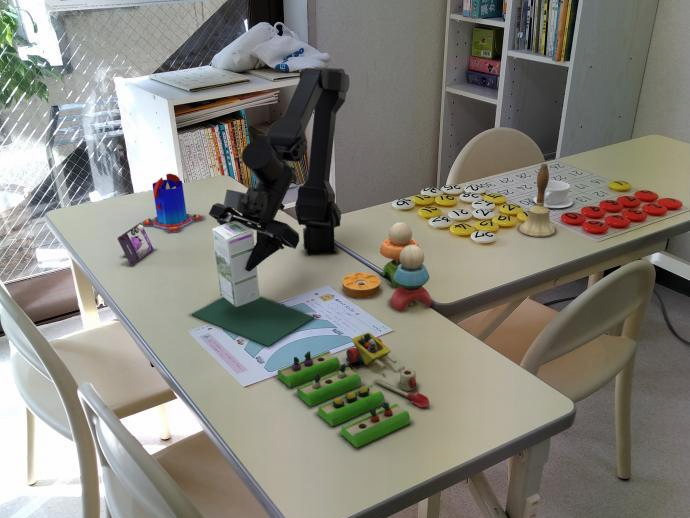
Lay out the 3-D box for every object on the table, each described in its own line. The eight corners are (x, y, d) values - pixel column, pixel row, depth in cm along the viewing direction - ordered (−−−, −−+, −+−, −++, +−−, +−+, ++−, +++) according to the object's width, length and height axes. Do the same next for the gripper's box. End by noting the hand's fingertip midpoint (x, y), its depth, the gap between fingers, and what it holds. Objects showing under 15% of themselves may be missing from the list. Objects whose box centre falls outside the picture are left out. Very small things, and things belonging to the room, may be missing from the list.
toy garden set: (276, 378, 125) (274, 355, 123) (368, 342, 135) (367, 320, 132) (356, 448, 109) (356, 423, 107) (454, 403, 118) (456, 379, 116)
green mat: (191, 315, 144) (191, 314, 144) (239, 290, 153) (238, 289, 153) (268, 347, 134) (268, 345, 134) (314, 318, 143) (314, 317, 142)
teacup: (542, 193, 198) (544, 176, 196) (578, 200, 193) (581, 183, 191) (526, 204, 192) (528, 187, 189) (563, 212, 186) (566, 194, 184)
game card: (120, 237, 160) (143, 221, 168) (102, 241, 163) (125, 226, 170) (134, 265, 163) (156, 248, 170) (116, 269, 165) (138, 253, 173)
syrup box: (261, 298, 143) (255, 229, 135) (234, 308, 140) (227, 238, 132) (245, 287, 147) (238, 219, 139) (219, 296, 144) (210, 227, 136)
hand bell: (516, 234, 175) (523, 168, 167) (522, 221, 182) (530, 157, 173) (552, 239, 173) (561, 172, 164) (557, 226, 179) (566, 161, 171)
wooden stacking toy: (333, 283, 155) (332, 227, 148) (407, 268, 161) (409, 213, 154) (370, 322, 141) (370, 262, 134) (449, 304, 146) (453, 245, 140)
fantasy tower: (174, 234, 178) (167, 185, 172) (138, 224, 184) (130, 177, 178) (206, 217, 187) (201, 171, 181) (171, 209, 192) (165, 163, 186)
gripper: (209, 161, 138) (173, 236, 137) (285, 181, 129) (246, 261, 127) (243, 189, 148) (209, 259, 146) (316, 209, 138) (280, 285, 137)
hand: (234, 265), depth 139 cm, fingers closed on syrup box, 6 cm apart
